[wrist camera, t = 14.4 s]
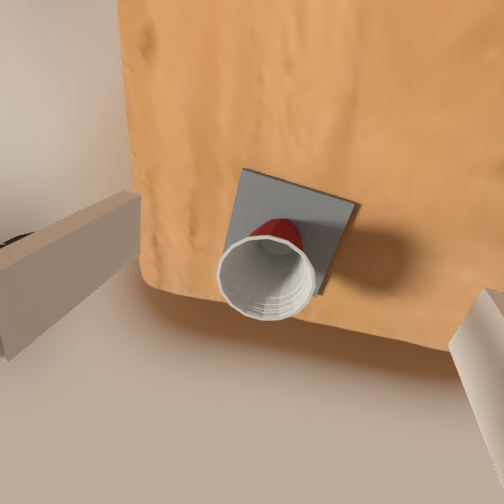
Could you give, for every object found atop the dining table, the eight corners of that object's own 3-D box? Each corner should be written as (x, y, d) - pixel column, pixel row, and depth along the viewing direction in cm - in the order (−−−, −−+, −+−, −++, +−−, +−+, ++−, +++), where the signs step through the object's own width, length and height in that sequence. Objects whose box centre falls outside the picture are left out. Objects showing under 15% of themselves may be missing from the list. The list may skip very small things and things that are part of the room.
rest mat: (354, 202, 43) (354, 204, 42) (316, 294, 50) (315, 297, 49) (243, 168, 44) (241, 169, 43) (221, 262, 51) (220, 264, 51)
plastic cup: (315, 277, 48) (308, 331, 37) (242, 265, 50) (216, 314, 39) (326, 204, 43) (322, 244, 32) (244, 195, 45) (215, 230, 34)
